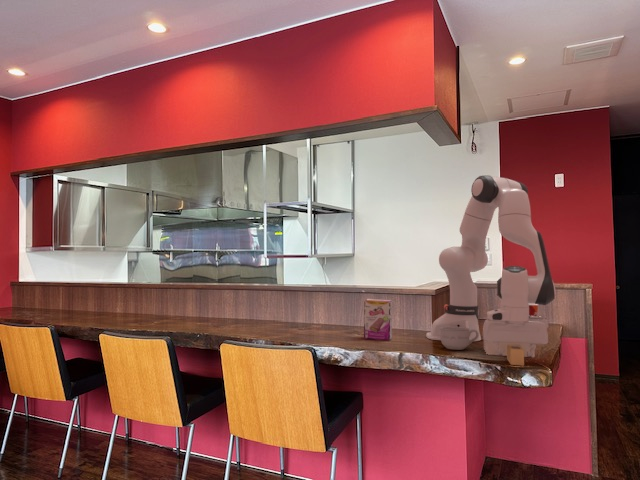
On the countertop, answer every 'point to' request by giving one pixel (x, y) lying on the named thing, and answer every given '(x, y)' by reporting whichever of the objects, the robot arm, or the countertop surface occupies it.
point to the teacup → (457, 337)
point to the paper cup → (533, 309)
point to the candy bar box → (378, 319)
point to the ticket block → (504, 348)
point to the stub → (515, 354)
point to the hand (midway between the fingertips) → (514, 355)
